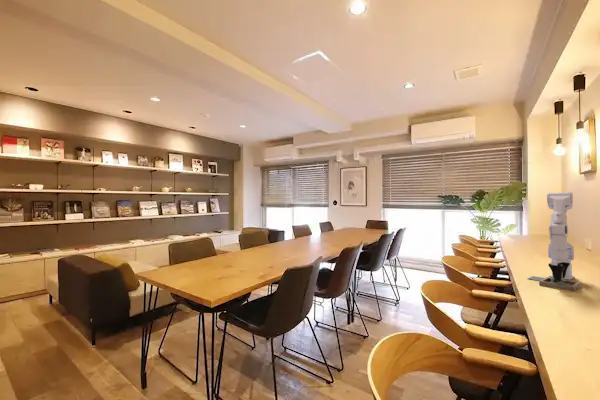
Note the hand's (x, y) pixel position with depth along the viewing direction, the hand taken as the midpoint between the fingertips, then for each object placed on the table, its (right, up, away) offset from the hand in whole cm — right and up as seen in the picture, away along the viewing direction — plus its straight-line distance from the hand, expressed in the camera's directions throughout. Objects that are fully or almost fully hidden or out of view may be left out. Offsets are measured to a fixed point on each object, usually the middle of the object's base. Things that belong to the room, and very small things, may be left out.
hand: (559, 278), depth 132 cm
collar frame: (0, -3, 0) cm, 3 cm away
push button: (0, -4, 0) cm, 4 cm away
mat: (0, -4, +12) cm, 12 cm away
